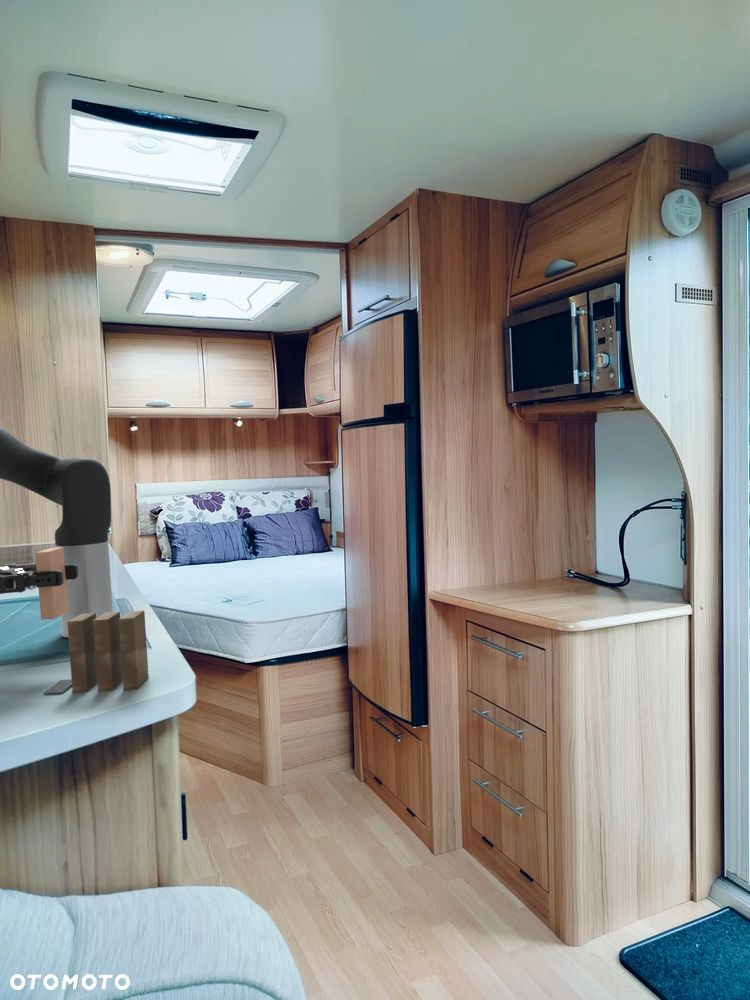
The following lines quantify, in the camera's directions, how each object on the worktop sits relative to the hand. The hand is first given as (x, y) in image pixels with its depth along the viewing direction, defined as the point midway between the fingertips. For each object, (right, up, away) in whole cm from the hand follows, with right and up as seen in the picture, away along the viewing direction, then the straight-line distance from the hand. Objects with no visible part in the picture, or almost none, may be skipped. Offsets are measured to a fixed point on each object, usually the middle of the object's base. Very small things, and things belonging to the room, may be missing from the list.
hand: (69, 574), depth 103 cm
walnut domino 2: (+9, -15, -6) cm, 18 cm away
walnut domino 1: (+5, -15, -6) cm, 17 cm away
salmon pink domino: (-2, -6, 0) cm, 7 cm away
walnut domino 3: (+12, -15, -6) cm, 20 cm away
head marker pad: (+2, -15, -6) cm, 17 cm away
